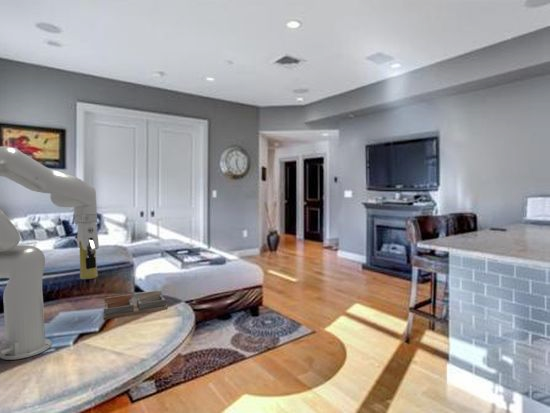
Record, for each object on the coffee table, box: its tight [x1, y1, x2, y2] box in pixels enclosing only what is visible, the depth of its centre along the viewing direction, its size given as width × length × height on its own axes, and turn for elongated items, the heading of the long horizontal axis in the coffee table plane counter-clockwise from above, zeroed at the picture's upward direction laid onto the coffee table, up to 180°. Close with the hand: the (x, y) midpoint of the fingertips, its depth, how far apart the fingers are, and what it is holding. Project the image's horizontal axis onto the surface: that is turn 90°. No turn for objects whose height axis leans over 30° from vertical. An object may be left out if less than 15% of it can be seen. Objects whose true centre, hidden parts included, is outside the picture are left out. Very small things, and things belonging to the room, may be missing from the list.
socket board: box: [102, 289, 168, 320], centre depth 141 cm, size 12×23×6 cm, turn 117°
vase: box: [78, 241, 99, 280], centre depth 133 cm, size 6×6×14 cm
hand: (88, 266), depth 133 cm, fingers closed on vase, 5 cm apart
